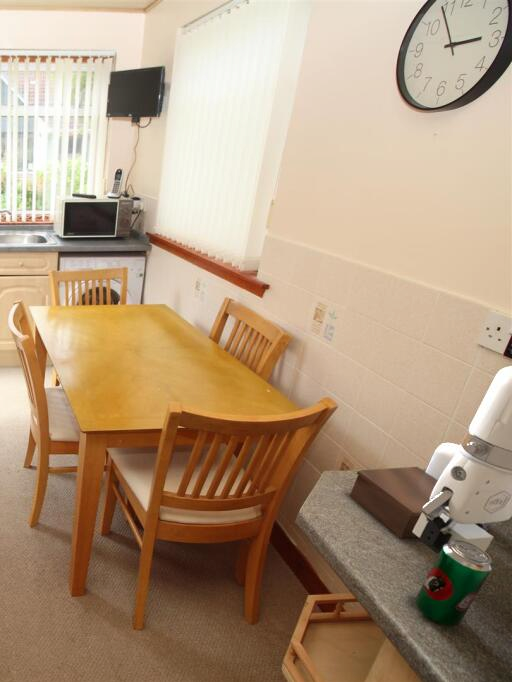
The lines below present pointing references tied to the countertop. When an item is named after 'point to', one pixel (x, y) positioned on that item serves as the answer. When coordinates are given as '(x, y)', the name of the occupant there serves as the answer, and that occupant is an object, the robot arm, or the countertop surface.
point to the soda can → (453, 582)
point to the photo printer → (442, 459)
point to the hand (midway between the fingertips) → (445, 544)
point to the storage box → (394, 496)
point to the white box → (460, 532)
